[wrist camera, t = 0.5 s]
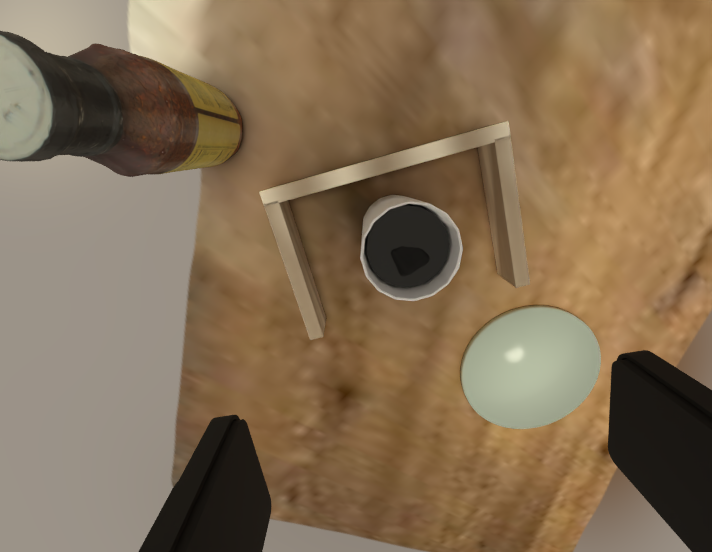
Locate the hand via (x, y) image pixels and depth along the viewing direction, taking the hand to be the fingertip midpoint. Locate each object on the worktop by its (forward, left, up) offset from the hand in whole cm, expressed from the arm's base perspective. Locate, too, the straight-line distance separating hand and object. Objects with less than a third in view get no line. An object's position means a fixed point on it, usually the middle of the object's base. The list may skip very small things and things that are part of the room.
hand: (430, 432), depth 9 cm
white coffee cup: (-2, 0, -25) cm, 25 cm away
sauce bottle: (+11, -12, -25) cm, 30 cm away
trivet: (-12, +18, -25) cm, 33 cm away
